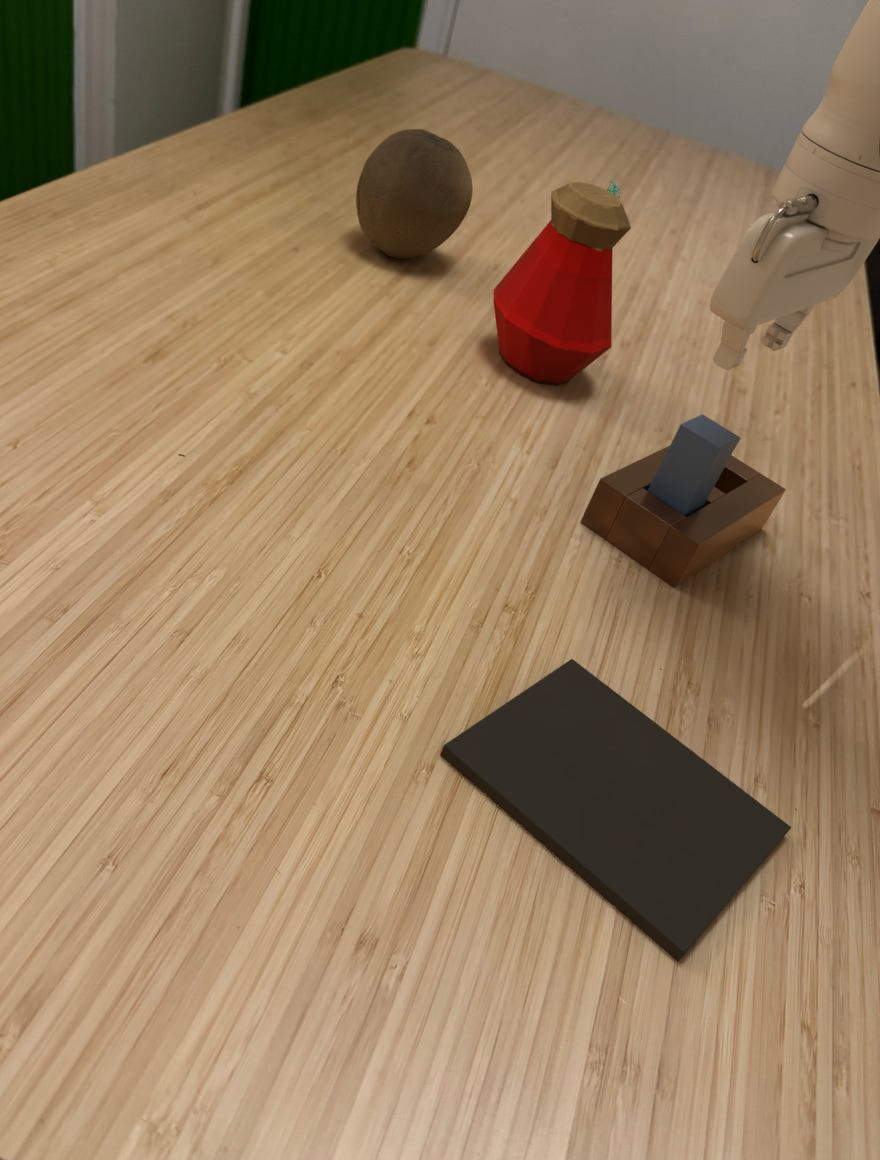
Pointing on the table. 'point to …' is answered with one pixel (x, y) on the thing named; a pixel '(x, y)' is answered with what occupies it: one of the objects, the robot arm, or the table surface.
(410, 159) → the cantaloupe
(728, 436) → the peg
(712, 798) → the mat
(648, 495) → the peg block
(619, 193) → the anatomy model
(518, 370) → the bottle
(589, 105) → the table surface
